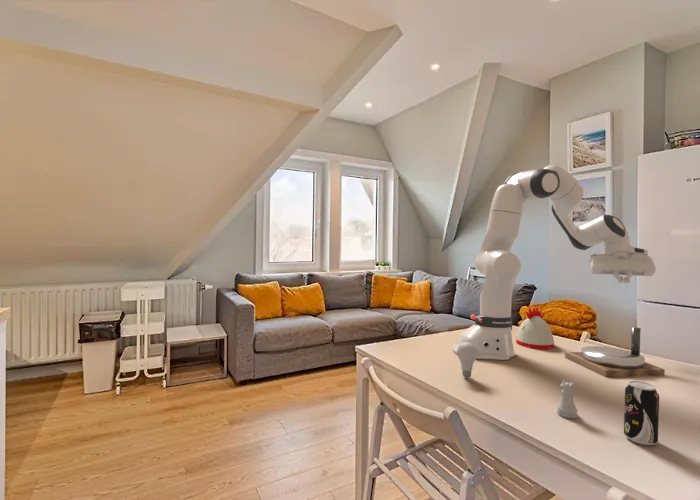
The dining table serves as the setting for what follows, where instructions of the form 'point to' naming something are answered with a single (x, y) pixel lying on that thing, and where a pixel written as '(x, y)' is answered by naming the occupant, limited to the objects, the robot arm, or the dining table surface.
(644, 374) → the stand
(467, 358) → the lightbulb
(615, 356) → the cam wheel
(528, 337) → the kitchen timer
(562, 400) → the rook chess piece
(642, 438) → the beverage can
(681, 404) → the dining table surface
